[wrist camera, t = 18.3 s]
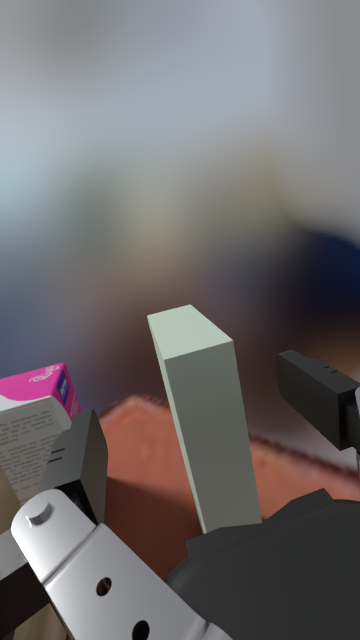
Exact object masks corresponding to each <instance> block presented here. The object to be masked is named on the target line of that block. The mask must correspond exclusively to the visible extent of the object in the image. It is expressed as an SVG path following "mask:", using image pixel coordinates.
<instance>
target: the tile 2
mask: <svg viewBox="0 0 360 640" xmlns="http://www.w3.org/2000/svg"><path fill="white" fill-rule="evenodd" d="M21 507H22V506H21V504H20V502H19V500H18V498H17V496H16V494H15V492H14V490H13V488H12V486H11V484H10V482H9V480H8V478H7V476H6V474H5V472H4V470H3V468H2V466H1V464H0V535H1V534H2V533H4V532H6V531H7V530H9V529H10V528H11V525H12V522H13V519H14V517H15V515H16V514H17V512H18V511H19V510H20V509H21ZM66 634H67V632H66V631H65V629H64V627H63V625H62V624H61V622H60V620H59V618H58V617H57V615H56V613H55V612H54V610H53V608H52V606H51V605H50V603H49V604H47V605H46V606H45V607H44V608H42V609H41V610H40V611H38V612H37V613H36V614H34V615H33V616H32V617H30V618H29V619H28V620H26V621H25V622H24V623H22V624H21V625H20V626H19V627H17V628H16V629H15V634H14V638H13V640H66Z"/></svg>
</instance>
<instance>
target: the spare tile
mask: <svg viewBox="0 0 360 640" xmlns="http://www.w3.org/2000/svg"><path fill="white" fill-rule="evenodd" d="M147 317H148V321H149V325H150V329H151V332H152V337H153V341H154V345H155V348H156V353H157V356H158V360H159V364H160V368H161V372H162V376H163V380H164V384H165V388H166V392H167V396H168V400H169V404H170V408H171V412H172V416H173V420H174V424H175V428H176V432H177V435H178V439H179V443H180V447H181V451H182V455H183V459H184V463H185V467H186V471H187V475H188V479H189V483H190V487H191V491H192V495H193V499H194V503H195V507H196V510H197V514H198V518H199V522H200V526H201V529H202V533H203V534H205V533H208V532H210V531H213V530H215V529H218V528H221V527H229V526H239V525H250V524H259V523H262V519H261V513H260V507H259V500H258V494H257V488H256V482H255V475H254V469H253V463H252V457H251V450H250V444H249V438H248V432H247V425H246V419H245V413H244V407H243V400H242V394H241V388H240V382H239V375H238V369H237V363H236V357H235V350H234V344H233V340H232V339H231V338H229V337H228V336H227V335H226V334H225V333H223V332H222V331H221V330H220V329H219V328H217V327H216V326H215V325H214V324H213V323H211V322H210V321H209V320H208V319H207V318H206V317H204V316H203V315H202V314H201V313H200V312H199V311H197V310H196V309H195V308H194V307H193V306H191V305H187V306H183V307H179V308H175V309H171V310H167V311H163V312H159V313H155V314H151V315H148V316H147Z"/></svg>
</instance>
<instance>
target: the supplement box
mask: <svg viewBox="0 0 360 640" xmlns="http://www.w3.org/2000/svg"><path fill="white" fill-rule="evenodd" d="M80 412H82V411H81V408H80V405H79V402H78V399H77V396H76V393H75V390H74V387H73V384H72V382H71V378H70V376H69V373H68V369H67V366H66V364H65V363H60V364H55V365H52V366H48V367H45V368H41V369H38V370H34V371H30V372H26V373H23V374H19V375H14V376H10V377H7V378H3V379H0V464H1V466H2V468H3V470H4V472H5V474H6V476H7V478H8V480H9V482H10V484H11V486H12V488H13V490H14V492H15V494H16V496H17V498H18V500H19V502H20V504H21V506H23V505H24V504H25V503H26V502H28V501H29V500H30V499H31V498H33V497H34V496H36V495H37V492H38V489H39V486H40V483H41V480H42V477H43V474H44V471H45V468H46V465H47V463H48V459H49V456H50V454H51V450H52V447H53V444H54V442H55V440H56V439H57V438H58V436H59V435H60V434H61V433H62V431H65V430H68V429H70V427H71V424H72V420H73V416H74V414H77V413H80Z"/></svg>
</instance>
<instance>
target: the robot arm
mask: <svg viewBox="0 0 360 640" xmlns="http://www.w3.org/2000/svg"><path fill="white" fill-rule="evenodd" d="M275 364H276V374H277V383H278V388H279V391H280V394H281V395H282V397H283V398H284V399H285V400H286V401H287V402H288V403H289V404H290V405H291V406H292V407H293V408H294V409H296V411H298V412H299V413H300V414H301V415H302V416H303V417H304V418H305V419H306V420H307V421H308V422H309V423H310V424H311V425H313V426H314V427H315V428H316V429H317V430H318V431H319V432H320V433H321V434H322V435H323V436H324V437H326V438H327V439H328V440H329V441H330V442H331V443H332V444H333V445H334V446H335V447H336V448H337V449H338V450H339V451H341V450H344V449H347V448H350V447H352V446H353V447H354V448H355V449H356V459H357V465H358V471H359V478H360V383H359V382H357V381H355V380H354V379H352V378H350V377H348V376H347V375H345V374H343V373H341V372H340V371H337V370H336V369H334V368H332V367H330V366H329V365H327V364H326V363H323V362H322V361H320V360H317V359H313V358H309V357H304V356H303V355H301V354H299V353H297V352H296V351H294V350H290V351H287V352H284V353H280V354H277V355H276V356H275ZM107 465H108V449H107V444H106V440H105V437H104V434H103V431H102V428H101V425H100V423H99V420H98V417H97V414H96V412H95V410H94V409H91V410H87V411H84V412H80V413H77V414H74V416H73V420H72V424H71V427H70V429H68V430H65V431H62V433H61V434H60V435H59V436H58V438H57V439H56V440H55V442H54V444H53V447H52V450H51V454H50V456H49V459H48V463H47V465H46V468H45V471H44V474H43V477H42V480H41V483H40V486H39V489H38V492H37V495H36V496H34V497H33V498H31V499H30V500H29V501H28V502H26V503H25V504H24V505H23V506H22V507H21V509H20V510H19V511H18V512H17V514H16V515H15V517H14V519H13V522H12V525H11V528H10V529H9V530H7V531H6V532H4V533H2V534H1V535H0V640H13V638H14V634H15V629H16V628H17V627H19V626H20V625H21V624H22V623H24V622H25V621H26V620H28V619H29V618H30V617H32V616H33V615H34V614H36V613H37V612H38V611H40V610H41V609H42V608H44V607H45V606H46V605H47V604H49V603H50V605H51V606H52V608H53V610H54V612H55V613H56V615H57V617H58V618H59V620H60V622H61V624H62V625H63V627H64V629H65V631H66V632H67V634H68V636H69V637H70V639H71V640H360V502H359V501H354V500H343V499H335V500H334V499H333V498H332V497H331V496H330V495H329V493H328V492H327V491H326V490H325V489H324V488H322V489H319V490H317V491H314V492H312V493H309V494H306V495H304V496H301V497H299V498H296V499H293V500H291V501H290V502H289V503H287V504H286V505H285V506H284V507H282V508H281V509H280V510H278V511H277V512H276V513H275V514H273V515H272V516H271V517H269V518H268V519H267V520H266V521H264V522H262V523H259V524H250V525H239V526H229V527H221V528H218V529H215V530H213V531H210V532H208V533H205V534H202V535H200V536H197V537H195V538H192V539H189V540H187V541H185V544H186V548H187V553H188V556H187V557H186V558H184V559H183V560H182V561H181V562H180V563H179V564H178V565H177V566H175V567H174V569H173V570H172V571H171V572H170V573H169V575H168V576H167V577H166V579H165V580H164V581H163V580H162V579H161V578H160V577H158V576H157V575H156V574H155V573H154V572H153V571H152V570H151V569H150V568H149V567H148V566H147V565H146V564H145V563H144V562H143V561H142V560H141V559H140V558H139V557H138V556H137V555H136V554H135V553H134V552H133V551H132V550H131V549H130V548H129V547H128V546H127V545H126V544H125V543H123V542H122V541H121V540H120V539H119V538H118V537H117V536H116V535H115V534H114V533H113V532H112V531H111V530H110V529H109V528H108V527H107V526H106V525H105V524H104V518H105V500H106V483H107Z"/></svg>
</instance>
